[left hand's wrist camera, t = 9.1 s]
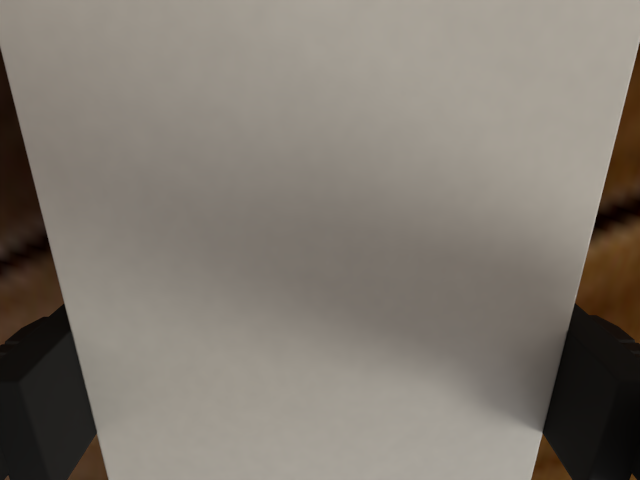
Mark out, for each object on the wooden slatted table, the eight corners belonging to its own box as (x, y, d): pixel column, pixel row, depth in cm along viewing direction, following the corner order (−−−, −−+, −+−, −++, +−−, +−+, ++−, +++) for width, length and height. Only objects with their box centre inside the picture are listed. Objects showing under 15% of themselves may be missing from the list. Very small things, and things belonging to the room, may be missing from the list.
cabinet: (156, -157, 13) (-179, -655, 4) (481, -158, 13) (816, -654, 4) (209, 318, 19) (116, 516, 10) (429, 318, 19) (522, 515, 10)
